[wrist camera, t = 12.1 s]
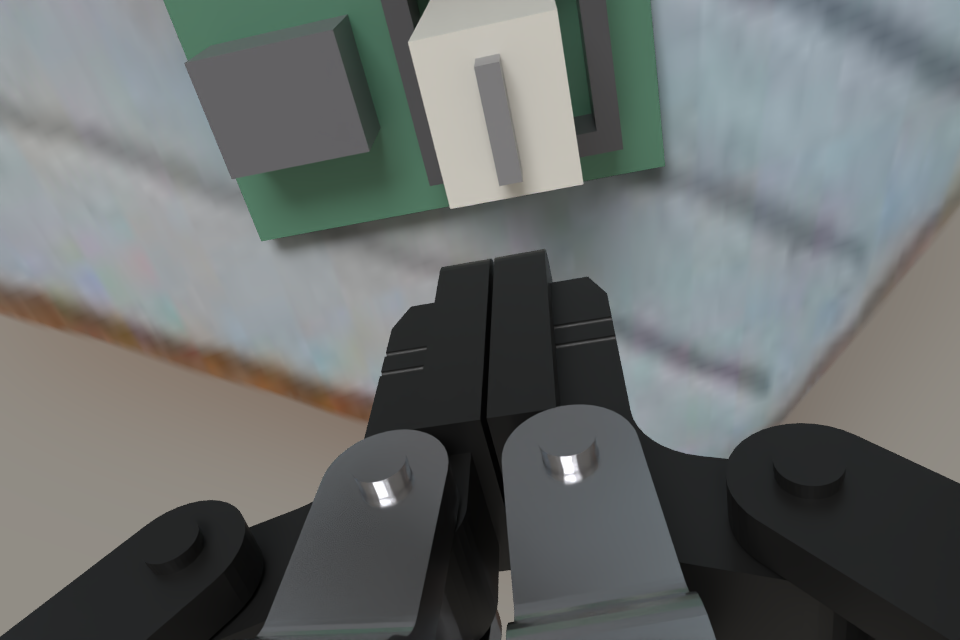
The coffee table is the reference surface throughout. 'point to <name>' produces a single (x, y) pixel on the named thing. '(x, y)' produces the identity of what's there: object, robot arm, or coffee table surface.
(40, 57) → the coffee table surface
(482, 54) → the plug
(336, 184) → the header board
